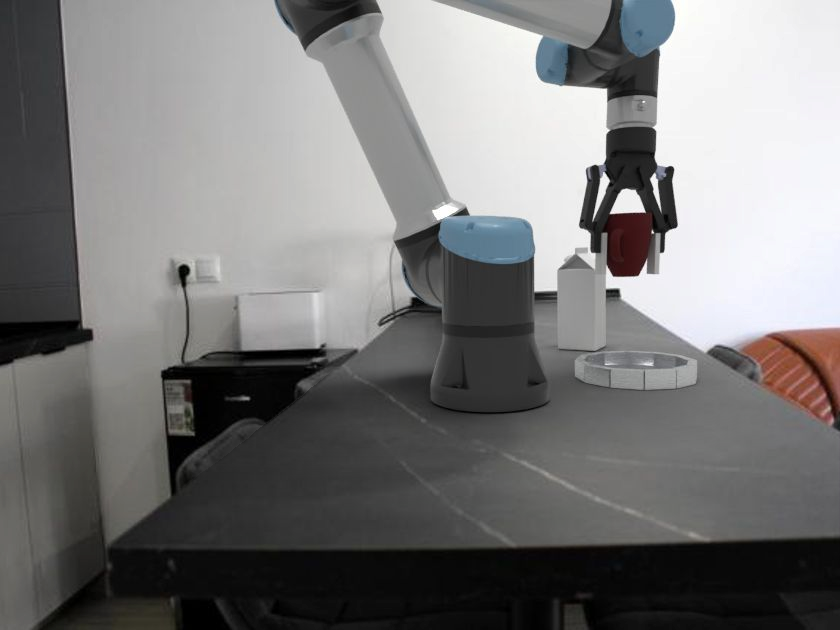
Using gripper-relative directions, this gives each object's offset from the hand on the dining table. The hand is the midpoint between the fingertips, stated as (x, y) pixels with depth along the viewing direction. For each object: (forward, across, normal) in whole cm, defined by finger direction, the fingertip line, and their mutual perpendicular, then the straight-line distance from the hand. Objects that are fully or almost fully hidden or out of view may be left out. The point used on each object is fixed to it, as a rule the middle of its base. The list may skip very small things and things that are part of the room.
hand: (626, 274), depth 99 cm
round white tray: (+15, -3, -11) cm, 18 cm away
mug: (+1, 0, 0) cm, 1 cm away
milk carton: (+15, -1, +17) cm, 22 cm away
